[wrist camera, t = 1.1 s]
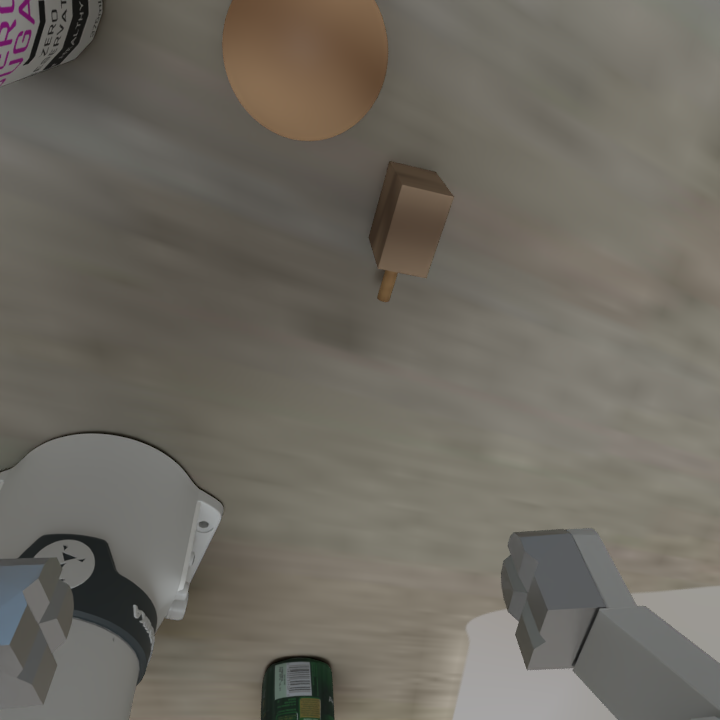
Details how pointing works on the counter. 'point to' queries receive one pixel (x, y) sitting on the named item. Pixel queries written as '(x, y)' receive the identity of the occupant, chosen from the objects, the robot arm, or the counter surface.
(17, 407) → the counter surface
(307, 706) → the coffee jar
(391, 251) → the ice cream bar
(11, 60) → the supplement can
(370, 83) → the bobbin
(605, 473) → the counter surface
